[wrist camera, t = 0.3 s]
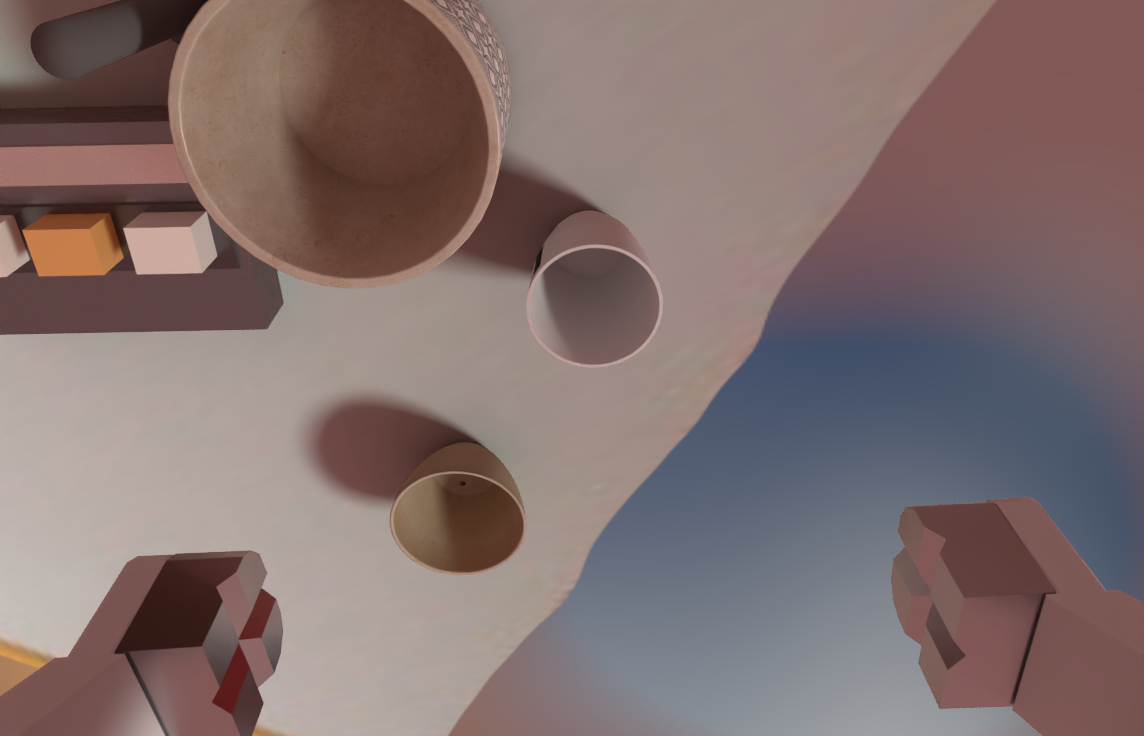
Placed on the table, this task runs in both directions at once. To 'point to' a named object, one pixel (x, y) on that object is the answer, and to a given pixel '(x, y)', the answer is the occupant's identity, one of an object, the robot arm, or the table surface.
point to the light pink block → (11, 246)
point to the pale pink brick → (170, 242)
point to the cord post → (108, 34)
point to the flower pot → (459, 512)
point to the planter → (342, 130)
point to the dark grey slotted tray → (116, 228)
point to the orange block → (73, 244)
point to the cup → (593, 292)
